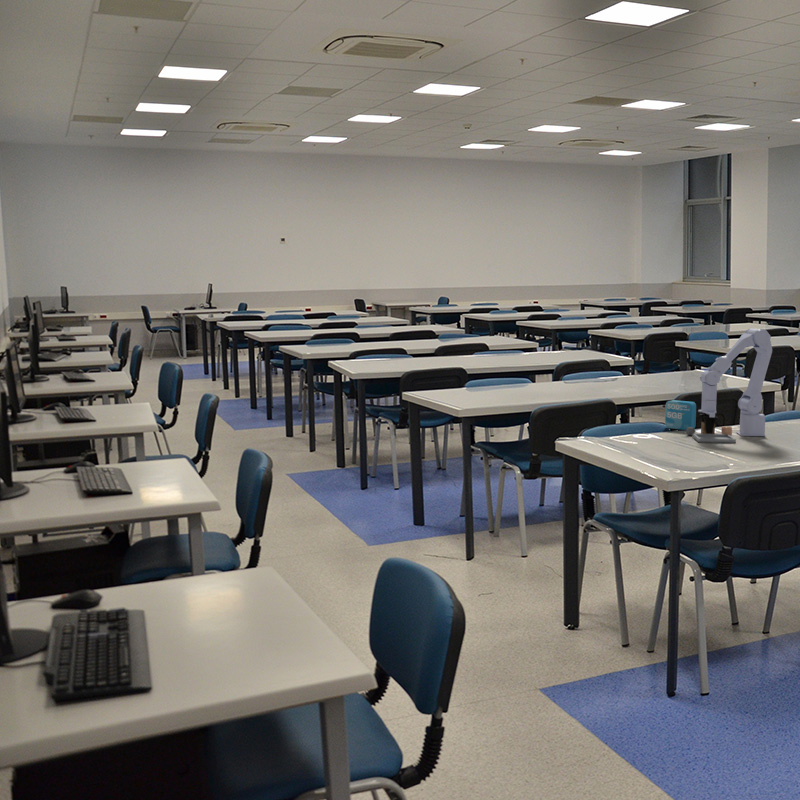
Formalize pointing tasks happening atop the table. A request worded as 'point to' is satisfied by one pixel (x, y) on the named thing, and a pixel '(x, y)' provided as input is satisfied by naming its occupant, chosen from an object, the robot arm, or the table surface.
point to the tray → (714, 438)
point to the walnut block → (703, 429)
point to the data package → (680, 414)
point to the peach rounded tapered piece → (726, 430)
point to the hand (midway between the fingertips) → (707, 432)
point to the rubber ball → (690, 431)
